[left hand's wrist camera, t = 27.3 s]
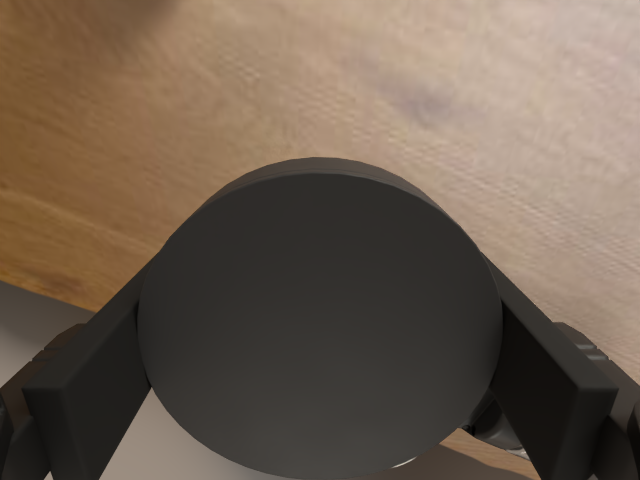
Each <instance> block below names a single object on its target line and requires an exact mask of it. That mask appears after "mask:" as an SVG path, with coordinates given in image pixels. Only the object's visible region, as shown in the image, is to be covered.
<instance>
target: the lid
mask: <svg viewBox="0 0 640 480" xmlns="http://www.w3.org/2000/svg"><path fill="white" fill-rule="evenodd" d="M137 337H138V342H139V348H140V353H141V358H142V362H143V366H144V370H145V373H146V376H147V378H148V380H149V382H150V384H151V386H152V388H153V390H154V392H155V394H156V396H157V397H158V399H159V400H160V401H161V403H162V404H163V406H164V407H165V409H166V410H167V411H168V412H169V414H170V415H171V416H172V417H173V418H174V419H175V420H176V422H177V423H178V424H179V425H180V426H181V427H182V428H183V429H185V430H186V431H187V432H188V433H189V434H190V435H191V436H192V437H194V438H195V439H196V440H198V441H199V442H200V443H202V444H203V445H205V446H206V447H208V448H209V449H210V450H212V451H214V452H216V453H218V454H219V455H221V456H223V457H225V458H227V459H229V460H231V461H233V462H236V463H238V464H240V465H243V466H245V467H248V468H251V469H254V470H257V471H260V472H264V473H267V474H272V475H277V476H282V477H287V478H296V479H305V480H333V479H346V478H352V477H358V476H364V475H369V474H372V473H376V472H380V471H384V470H387V469H389V468H392V467H395V466H397V465H400V464H403V463H405V462H407V461H409V460H411V459H413V458H415V457H417V456H419V455H421V454H423V453H425V452H426V451H428V450H429V449H431V448H432V447H434V446H436V445H437V444H439V443H440V442H441V441H443V440H444V439H445V438H446V437H448V436H449V435H450V434H451V433H453V432H454V431H455V430H456V429H457V428H458V427H459V426H460V425H461V424H462V423H463V422H464V421H465V420H466V419H467V418H468V416H469V415H470V414H471V413H472V411H473V410H474V409H475V407H476V406H477V405H478V403H479V402H480V401H481V399H482V397H483V395H484V394H485V392H486V390H487V388H488V387H489V385H490V383H491V380H492V378H493V375H494V373H495V370H496V368H497V364H498V359H499V354H500V349H501V344H502V337H503V315H502V304H501V300H500V296H499V292H498V288H497V284H496V282H495V279H494V277H493V274H492V272H491V270H490V267H489V265H488V263H487V261H486V260H485V258H484V257H483V255H482V253H481V252H480V250H479V249H478V247H477V245H476V244H475V243H474V242H473V241H472V239H471V238H470V237H469V236H468V235H467V234H466V232H465V231H464V230H463V229H462V228H461V227H460V226H459V225H458V224H457V223H456V222H455V221H454V220H453V219H452V218H451V217H450V216H449V215H448V214H447V213H446V212H445V211H444V210H443V209H442V208H441V207H439V206H438V205H437V204H436V203H435V202H434V201H433V200H432V199H431V198H429V197H428V196H427V195H426V194H425V193H424V192H422V191H421V190H420V189H419V188H417V187H416V186H414V185H412V184H411V183H409V182H408V181H406V180H405V179H403V178H401V177H399V176H397V175H395V174H393V173H391V172H388V171H386V170H384V169H382V168H379V167H376V166H372V165H369V164H366V163H362V162H359V161H353V160H347V159H340V158H324V157H310V158H301V159H291V160H287V161H282V162H278V163H274V164H270V165H267V166H264V167H262V168H259V169H256V170H254V171H251V172H249V173H246V174H245V175H243V176H241V177H239V178H237V179H236V180H234V181H232V182H230V183H229V184H227V185H226V186H224V187H223V188H222V189H220V190H219V191H218V192H216V193H215V194H214V195H213V196H211V197H210V198H209V199H208V200H207V201H206V202H205V203H204V204H203V205H202V206H201V207H200V208H198V209H197V210H196V211H195V212H194V213H193V214H192V215H191V216H190V217H189V218H188V219H187V220H186V221H185V222H184V223H183V224H182V225H181V226H180V227H179V228H178V229H177V230H176V231H175V232H174V233H173V234H172V235H171V236H170V237H169V239H168V240H167V242H166V243H165V244H164V246H163V247H162V249H161V250H160V251H159V253H158V254H157V256H156V258H155V260H154V262H153V264H152V266H151V268H150V270H149V272H148V274H147V276H146V279H145V282H144V285H143V288H142V291H141V295H140V299H139V306H138V313H137Z"/></svg>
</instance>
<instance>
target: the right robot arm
mask: <svg viewBox="0 0 640 480" xmlns="http://www.w3.org/2000/svg"><path fill="white" fill-rule="evenodd" d="M458 428H461V429H463V430H465V431H466V432H467V433H469V434H470V435H472V436H473V437H475V438H476V439H479V440H481V441H483V442H486V443H488V444H491V445H493V446H495V447H498V448H500V449H504V450H506V451H507V452H509V453H511V454H514V455H516V456H519V457H521V458H524V459H526V460H529V461H531V460H530V459H529V457H528V455H527V453H526V452H525V450H524V448H523V446H522V445H521V443H520V441H519V439H518V438H517V436H516V434H515V432H514V431H513V429H512V427H511V426H510V424H509V422H508V420H507V419H506V417H505V415H504V413H503V412H502V410H501V408H500V406H499V405H498V403H497V401H496V399H495V398H494V396H493V394H492V392H491V391H490V389H489V387H488V388H487V390H486V392H485V394H484V395H483V397H482V399H481V401H480V402H479V403H478V405H477V406H476V407H475V409H474V410H473V411H472V413H471V414H470V415H469V416H468V418H467V419H466V420H465V421H464V422H463V423H462V424H461V425H460V426H459V427H458ZM587 480H598V479H597V477H596V476H595V475H594V473H593V472H592V470H591V469H590V472H589V475H588V478H587Z"/></svg>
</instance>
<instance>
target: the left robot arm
mask: <svg viewBox="0 0 640 480" xmlns="http://www.w3.org/2000/svg"><path fill="white" fill-rule="evenodd" d="M158 253H159V252H158ZM158 253H157V254H158ZM481 253H482V252H481ZM157 254H156V255H155V256H154V257H153V258H152V259H151V260H150V261H149V262H148V263H147V264H146V265H145V266H144V267H143V268H142V269H141V270H140V271H139V272H138V273H137V274H136V275H135V276H134V277H133V278H132V279H131V280H130V281H129V282H128V283H127V284H126V285H125V286H124V287H123V288H122V289H121V290H120V291H119V292H118V293H117V294H116V295H115V296H114V297H113V298H112V299H111V300H110V301H109V302H108V303H107V304H106V305H105V306H104V307H103V308H102V309H101V310H100V311H99V312H98V313H97V314H96V315H95V316H94V317H93V318H92V319H91V320H89V321H88V322H87V323H86V324H76V325H75V326H73V327H71V328H69V329H67V330H66V331H64V332H62V333H60V334H59V335H57V336H56V337H55V338H54V339H53V340H52V341H51V342H50V343H49V344H48V345H47V346H46V347H45V348H44V350H41V351H40V352H39V353H38V354H37V355H36V356H35V357H34V358H33V359H32V361H30V362H28V363H27V364H26V365H25V366H24V367H23V368H22V369H21V370H20V371H18V372H17V373H16V374H15V375H14V376H13V377H12V378H11V379H10V380H9V381H8V382H7V383H6V384H4V385H3V386H2V387H1V388H0V480H44V479H45V477H46V476H47V474H48V473H49V472H50V471H51V474H52V477H53V480H99V478H100V477H101V475H102V473H103V471H104V470H105V468H106V466H107V464H108V463H109V461H110V459H111V457H112V456H113V454H114V452H115V450H116V449H117V447H118V445H119V443H120V442H121V440H122V438H123V436H124V435H125V433H126V431H127V429H128V428H129V426H130V424H131V422H132V421H133V419H134V417H135V415H136V414H137V412H138V410H139V408H140V407H141V405H142V403H143V401H144V400H145V398H146V396H147V394H148V393H149V391H150V389H151V387H152V386H151V384H150V382H149V380H148V378H147V376H146V373H145V370H144V366H143V362H142V358H141V353H140V348H139V342H138V337H137V313H138V306H139V299H140V295H141V291H142V288H143V285H144V282H145V279H146V276H147V274H148V272H149V270H150V268H151V266H152V264H153V262H154V260H155V258H156V256H157ZM482 255H483V257H484V258H485V260H486V261H487V263H488V265H489V267H490V270H491V272H492V274H493V277H494V279H495V282H496V284H497V288H498V292H499V296H500V300H501V304H502V315H503V337H502V344H501V349H500V354H499V359H498V364H497V368H496V370H495V373H494V375H493V378H492V380H491V383H490V385H489V389H490V391H491V392H492V394H493V396H494V398H495V399H496V401H497V403H498V405H499V406H500V408H501V410H502V412H503V413H504V415H505V417H506V419H507V420H508V422H509V424H510V426H511V427H512V429H513V431H514V432H515V434H516V436H517V438H518V439H519V441H520V443H521V445H522V446H523V448H524V450H525V452H526V453H527V455H528V457H529V459H530V460H531V462H532V464H533V466H534V467H535V469H536V471H537V473H538V474H539V476H540V478H541V480H587V478H588V475H589V472H590V469H591V470H592V472H593V473H594V475H595V476H596V477H597V479H598V480H640V386H639V385H638V384H637V383H636V382H635V381H634V380H633V379H632V378H630V377H629V376H628V375H627V374H626V373H625V372H624V371H623V370H622V369H621V368H620V367H618V366H617V365H616V364H615V363H614V362H613V361H612V360H609V359H608V356H606V355H605V354H604V353H603V352H602V351H601V350H600V349H597V346H596V345H594V344H593V343H592V342H591V341H590V340H589V339H588V338H587V337H586V336H585V335H584V334H582V333H581V332H579V331H577V330H575V329H574V328H572V327H570V326H568V325H567V324H565V323H563V322H552V321H551V320H550V319H549V318H548V317H547V316H546V315H545V314H544V313H543V312H542V311H541V310H540V309H539V308H538V307H537V306H536V305H535V304H534V303H533V302H532V301H531V300H530V299H528V298H527V297H526V296H525V295H524V294H523V293H522V292H521V291H520V290H519V289H518V288H517V287H516V286H515V285H514V284H513V283H512V282H511V281H510V280H509V279H508V278H507V277H506V276H505V275H504V274H503V273H502V272H501V271H500V270H499V269H498V268H497V267H496V266H495V265H494V264H493V263H492V262H491V261H490V260H489V259H488V258H487V257H486V256H485V255H484V254H483V253H482Z"/></svg>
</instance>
